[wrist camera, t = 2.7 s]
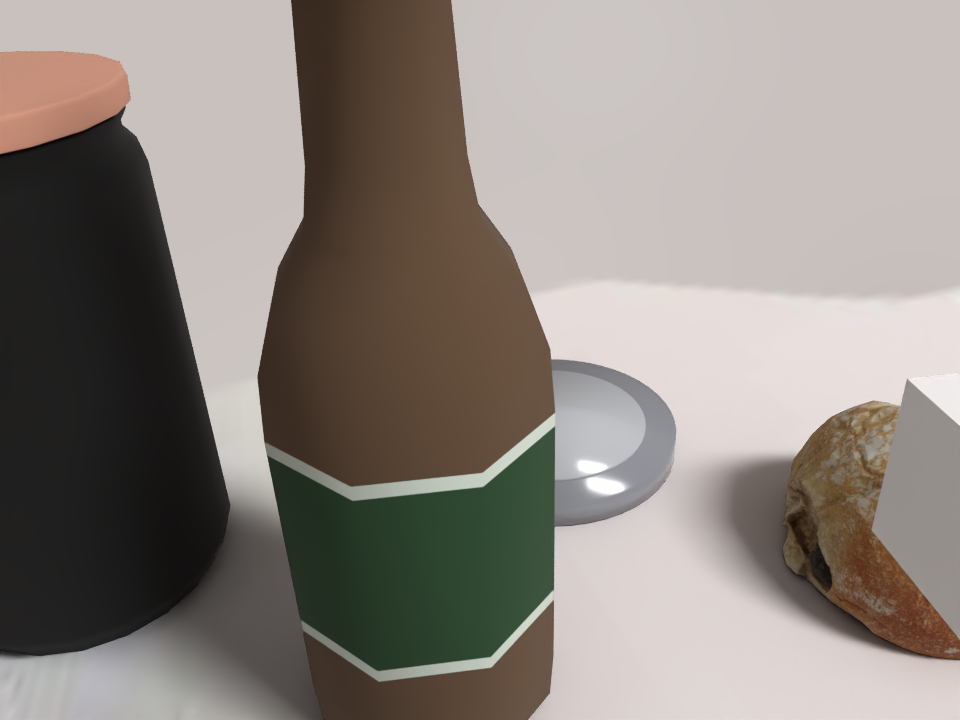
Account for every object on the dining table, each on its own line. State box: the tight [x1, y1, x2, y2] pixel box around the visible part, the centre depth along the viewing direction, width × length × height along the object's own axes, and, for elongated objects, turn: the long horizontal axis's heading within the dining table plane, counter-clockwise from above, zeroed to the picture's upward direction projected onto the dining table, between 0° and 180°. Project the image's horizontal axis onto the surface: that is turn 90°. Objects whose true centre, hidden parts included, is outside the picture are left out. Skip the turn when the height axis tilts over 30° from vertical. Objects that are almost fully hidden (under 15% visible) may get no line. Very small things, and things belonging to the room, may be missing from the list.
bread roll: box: [783, 401, 960, 659], centre depth 31 cm, size 10×10×8 cm
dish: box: [551, 360, 676, 526], centre depth 39 cm, size 11×11×1 cm
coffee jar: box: [0, 51, 230, 656], centre depth 29 cm, size 11×11×18 cm
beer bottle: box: [258, 0, 555, 720], centre depth 22 cm, size 8×8×24 cm
